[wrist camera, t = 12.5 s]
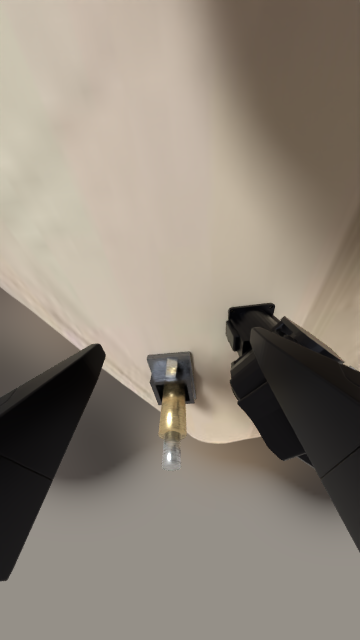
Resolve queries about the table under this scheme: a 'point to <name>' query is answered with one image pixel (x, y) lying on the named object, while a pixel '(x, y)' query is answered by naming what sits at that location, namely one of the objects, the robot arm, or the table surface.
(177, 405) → the gold perfume bottle
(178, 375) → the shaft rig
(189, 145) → the table surface
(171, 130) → the table surface
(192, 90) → the table surface
